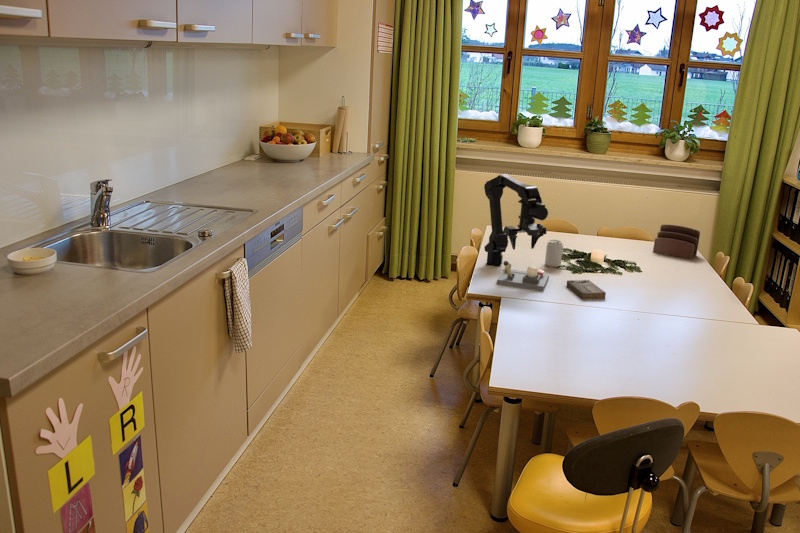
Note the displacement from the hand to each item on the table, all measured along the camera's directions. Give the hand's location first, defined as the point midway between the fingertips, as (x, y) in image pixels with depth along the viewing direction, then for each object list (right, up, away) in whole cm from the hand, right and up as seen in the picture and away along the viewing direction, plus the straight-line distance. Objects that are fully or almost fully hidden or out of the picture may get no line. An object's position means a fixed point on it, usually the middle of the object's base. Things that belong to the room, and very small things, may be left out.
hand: (523, 249), depth 331 cm
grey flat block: (+25, -19, -11) cm, 33 cm away
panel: (0, -14, -2) cm, 14 cm away
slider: (-6, -10, +4) cm, 12 cm away
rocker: (+5, -11, 0) cm, 12 cm away
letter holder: (+87, -2, +54) cm, 103 cm away
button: (+2, -12, -8) cm, 15 cm away
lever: (-6, -13, -5) cm, 15 cm away
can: (+18, -7, +23) cm, 30 cm away
